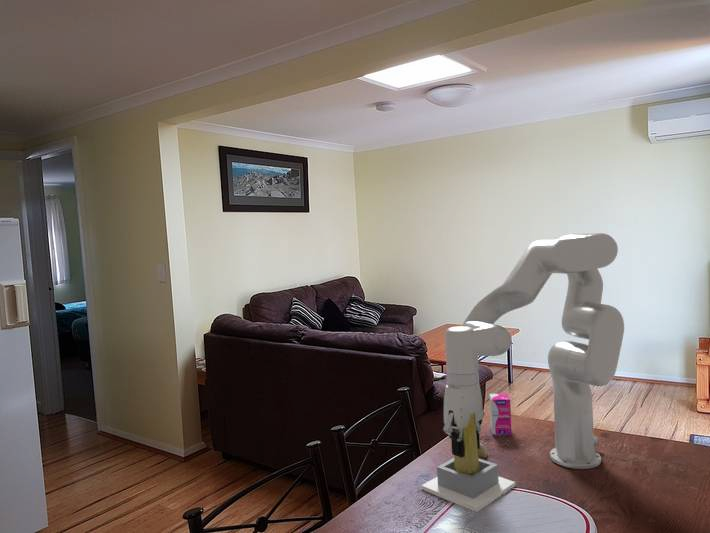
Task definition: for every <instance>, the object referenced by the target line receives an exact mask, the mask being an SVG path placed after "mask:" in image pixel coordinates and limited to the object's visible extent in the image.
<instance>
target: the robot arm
mask: <svg viewBox="0 0 710 533" xmlns="http://www.w3.org/2000/svg"><path fill="white" fill-rule="evenodd" d="M618 251H619V247H618V244H617V242H616V240H615V239H614V238H613V237H612V236H611V235H610V234H608V233H602V232H595V233H594V232H593V233H592V232H591V233H571V234H565V235H563V236H561V237H558V238H550V239H547V238H546V239H538V240H535V241H533V242H532V243H530V244H529V245H528V246H527V248H526V249H525V251H524V252H523V254H522V256H520V258H519V260H518V261H517V263H516V264H515V265H514V268H513V269H512V270H511V271H510V273H509V275H508V276H507V278H506V279H505V280H504V281H503V283H502V284H500V285H499V286H498V287H496V288H494V289H493V290H492V291H490V292H489V293H488V294H487V295H485V296H484V297H483V298H482V299H480V300H479V301H478V302H477V303H476V305H474V306H473V308H472V310H470V312H469V314H468V316H466V318H465V320H464V322H463V324H462V325H460V326H459V325H458V326H451V327H449V328H447V329H446V330H445V332H444V333H445V334H444V341H445V342H444V343H445V344H444V346H445V366H446V385H445V389H444V396H443V424H444V426H443V428H442V430H443V432H444V433H445V434H446V435H447V436H448V437H449V440H451V441H450V442H451V454H452V455H453V456H454V455H455V456H458V457H461V458H462V457H464V441H462V434H463V428H465V427H467V426H468V422H469V421H470V414H473V413H475V418H476V435H477V448H478V449H479V448H480V443H481V441H480V439H481V438H480V433H481V427H482V426H481V425H482V424H483V420H484V417H485V414H486V413H485V412H484V410H483V399H482V390H481V385H480V378H479V376H480V375H479V357H496V356H501V355H504V354H505V353H507V352H508V350H510V348H511V346H512V335H511V333H510V332H509V330H507V329H506V328H505V327H504V326H502V325H499V324H495V323H496V322H497V321H498V320H499V319H500V318H501V317H503V316H504V315H505V314H507V313H509V312H511V311H512V312H513V311H515V310H517V309H521V308H523V307H527V306H528V305H530V304H532V303H533V302H535V300H536V299H537V297H538V296H539V294H540V293H541V291H542V289H543V288H544V286H545V284H546V283H547V282H548V280H549V279H550V277H551V276H552V275H553V274H564V275H565V274H566V275H567V281H568V284H567V292H566V297H565V301H564V307H563V310H562V317H561V328H562V330H563V331H564V333H566V334H568V335H570V336H573V337H575V338H578V339H580V338H581V339H584V340H588V343H587V344H585V343H581V342H578V341H577V342H576V341H571V340H562V341H557V342H555V343H553V345H552V346H551V347H550V349H549V351H548V353H547V364H548V370H549V374H550V378H551V383H552V391H553V392H552V393H553V414H554V419H553V420H554V422H553V423H554V442H555V443H554V445H555V447H553V448H552V449H551V450H550V451H549V458H550V460H551V461H552V462H553V463H555V464H557V465H559V466H561V467H564V468H570V469H575V470H577V469H578V470H589V469H593V468H596V467H598V466H599V465H600V464H601V463H602V456H601V454H600V453H598V452H597V451H596V450H595V444H597V443H598V442H599V439H598V437H597V436H596V435H595V433H594V411H593V410H594V409H593V404H594V403H593V393H592V389H591V386H594V387H604V386H606V385H608V384H609V383H610V382H611V381H612V380H613V378H614V377H615V375H616V371H617V368H618V364H619V360H620V359H619V358H620V354H621V349H622V343H623V338H624V333H625V320H624V317H623V315H622V313H621V311H620V310H619V309H618V308H616V307H615V306H612V305H609V304H605V303H602V298H603V290H604V281H603V278H602V275H601V273H600V271H599V269H602V268H605V267H608V266H610V265H611V264H612V263H613V262H614V261H615V260H616V258H617V255H618ZM455 424H457V426H455ZM455 429H457V430H458V434H457V433H456V432H455Z"/></svg>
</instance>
